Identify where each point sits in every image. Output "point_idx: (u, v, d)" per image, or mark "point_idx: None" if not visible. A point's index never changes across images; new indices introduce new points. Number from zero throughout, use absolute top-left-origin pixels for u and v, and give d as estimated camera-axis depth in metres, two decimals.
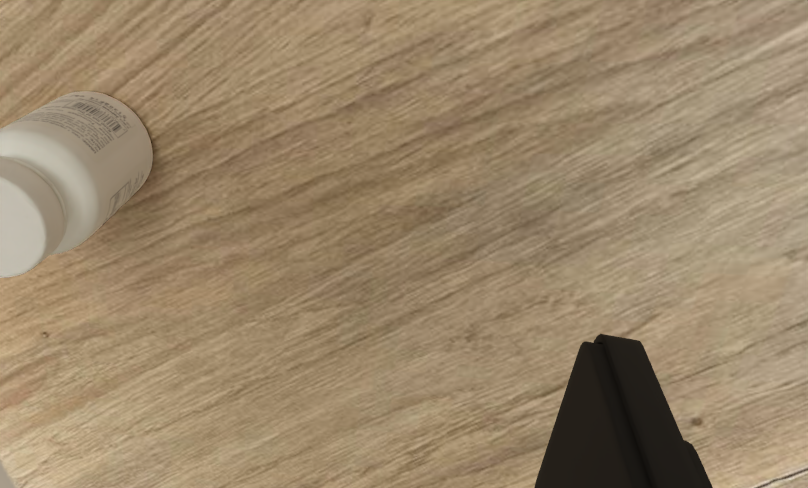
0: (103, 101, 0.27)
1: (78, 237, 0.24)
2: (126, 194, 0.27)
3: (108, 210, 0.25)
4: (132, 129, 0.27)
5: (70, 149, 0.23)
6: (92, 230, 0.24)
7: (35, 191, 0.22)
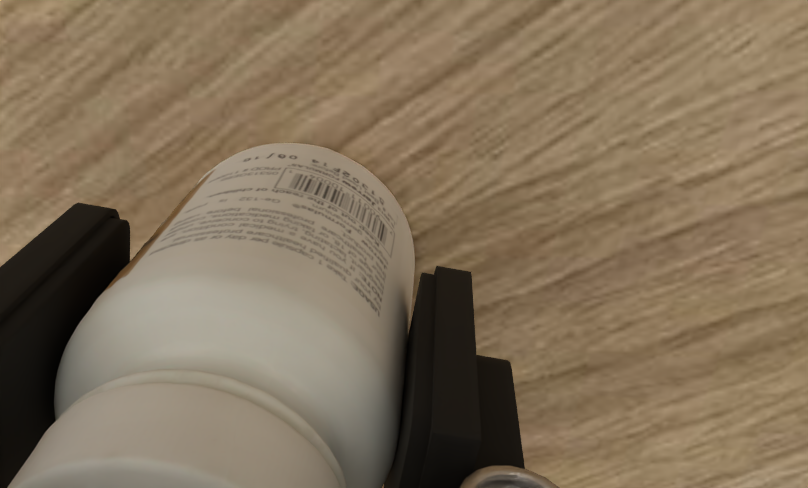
0: (337, 168, 0.12)
1: None
2: None
3: None
4: (398, 228, 0.12)
5: (344, 323, 0.09)
6: None
7: None
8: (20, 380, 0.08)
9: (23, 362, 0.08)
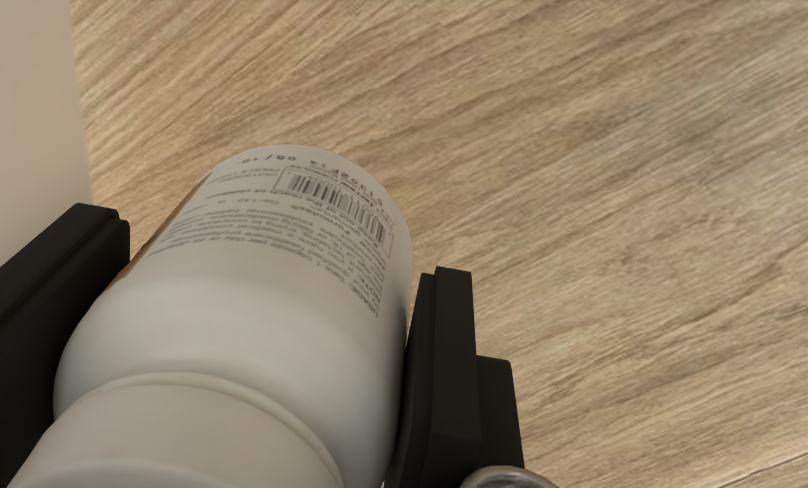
0: (336, 169, 0.12)
1: None
2: None
3: None
4: (396, 229, 0.12)
5: (342, 323, 0.09)
6: None
7: None
8: (20, 380, 0.08)
9: (23, 362, 0.08)
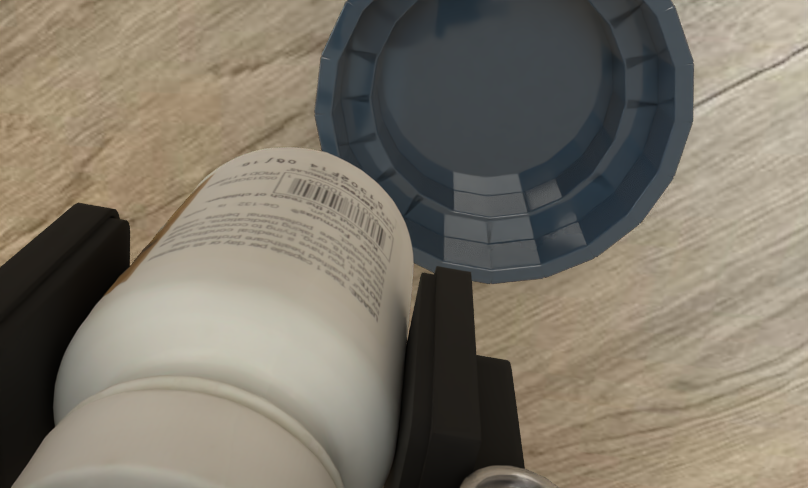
0: (336, 172, 0.12)
1: None
2: None
3: None
4: (396, 232, 0.12)
5: (342, 328, 0.09)
6: None
7: None
8: (20, 380, 0.08)
9: (23, 362, 0.08)
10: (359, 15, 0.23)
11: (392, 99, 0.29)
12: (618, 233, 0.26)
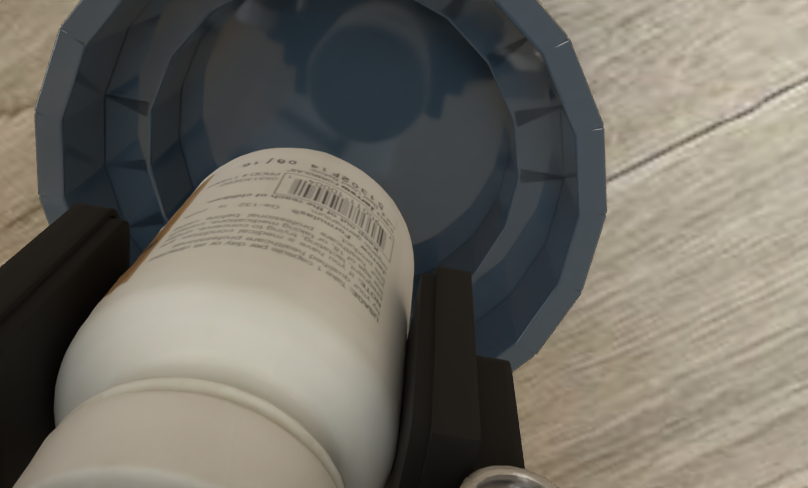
0: (336, 173, 0.12)
1: None
2: None
3: None
4: (397, 233, 0.12)
5: (343, 329, 0.09)
6: None
7: None
8: (20, 380, 0.08)
9: (23, 362, 0.08)
10: (82, 50, 0.15)
11: (203, 159, 0.20)
12: None
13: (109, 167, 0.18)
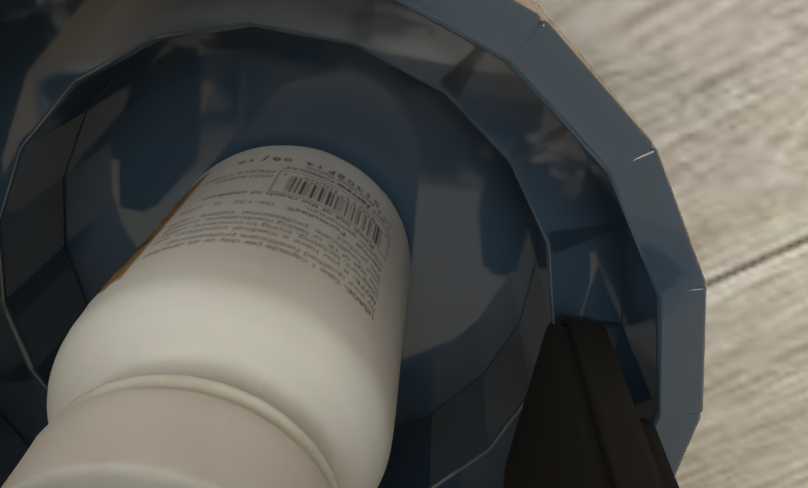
0: (332, 170, 0.12)
1: None
2: None
3: None
4: (393, 231, 0.12)
5: (337, 325, 0.09)
6: None
7: None
8: None
9: None
10: None
11: (101, 271, 0.14)
12: None
13: None
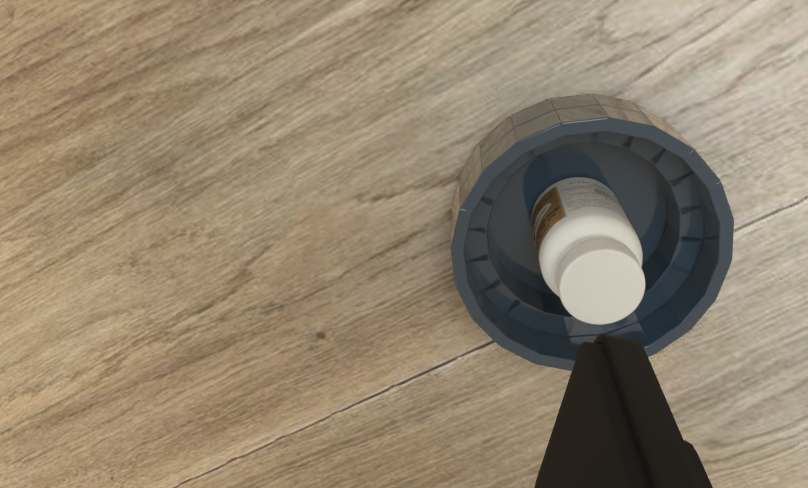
0: (601, 186, 0.35)
1: None
2: None
3: None
4: None
5: (631, 229, 0.32)
6: None
7: (638, 263, 0.30)
8: None
9: None
10: (490, 181, 0.32)
11: (496, 224, 0.37)
12: (673, 337, 0.34)
13: None
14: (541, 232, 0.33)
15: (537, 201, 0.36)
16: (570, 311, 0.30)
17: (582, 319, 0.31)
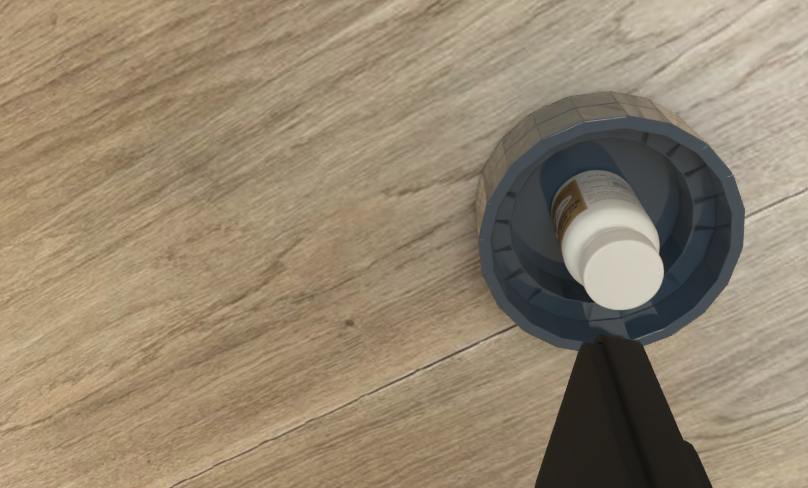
0: (618, 178, 0.37)
1: None
2: None
3: None
4: None
5: (649, 220, 0.34)
6: None
7: (657, 252, 0.32)
8: None
9: None
10: (516, 177, 0.34)
11: (518, 215, 0.39)
12: (687, 320, 0.37)
13: None
14: (563, 223, 0.35)
15: (557, 193, 0.38)
16: (593, 298, 0.33)
17: (604, 305, 0.33)
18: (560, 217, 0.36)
